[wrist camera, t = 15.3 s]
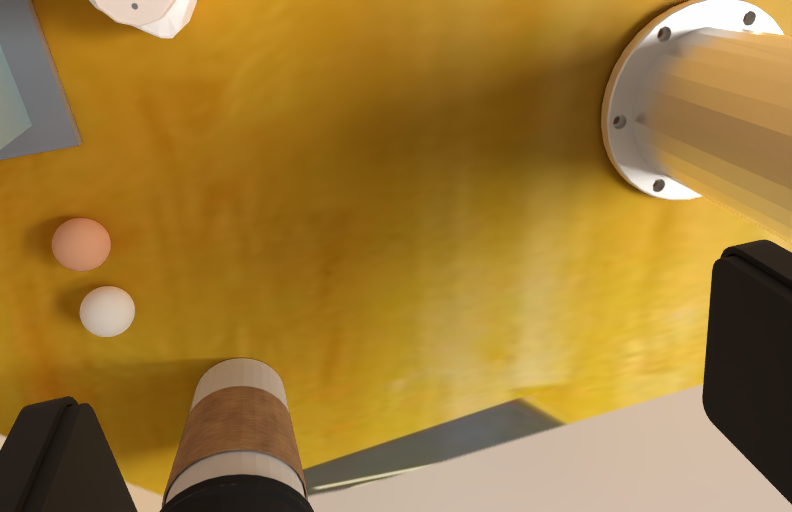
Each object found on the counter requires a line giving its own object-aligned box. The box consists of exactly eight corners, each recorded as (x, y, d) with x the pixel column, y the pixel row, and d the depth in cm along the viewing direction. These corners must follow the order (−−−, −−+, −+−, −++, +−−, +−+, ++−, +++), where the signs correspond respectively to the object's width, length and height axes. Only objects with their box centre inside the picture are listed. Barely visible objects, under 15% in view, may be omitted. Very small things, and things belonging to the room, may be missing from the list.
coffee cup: (210, 322, 42) (188, 493, 29) (325, 368, 45) (354, 543, 32) (154, 420, 44) (109, 622, 31) (267, 458, 47) (271, 656, 34)
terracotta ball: (105, 205, 38) (94, 224, 35) (122, 252, 39) (112, 273, 36) (52, 216, 37) (36, 236, 35) (70, 262, 39) (56, 285, 36)
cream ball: (129, 272, 40) (120, 295, 37) (145, 315, 41) (137, 340, 38) (78, 283, 39) (65, 307, 37) (95, 325, 41) (84, 351, 38)
